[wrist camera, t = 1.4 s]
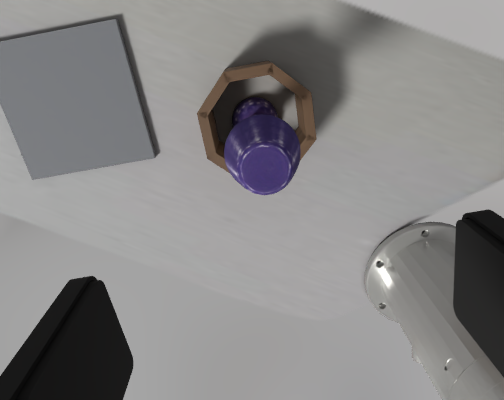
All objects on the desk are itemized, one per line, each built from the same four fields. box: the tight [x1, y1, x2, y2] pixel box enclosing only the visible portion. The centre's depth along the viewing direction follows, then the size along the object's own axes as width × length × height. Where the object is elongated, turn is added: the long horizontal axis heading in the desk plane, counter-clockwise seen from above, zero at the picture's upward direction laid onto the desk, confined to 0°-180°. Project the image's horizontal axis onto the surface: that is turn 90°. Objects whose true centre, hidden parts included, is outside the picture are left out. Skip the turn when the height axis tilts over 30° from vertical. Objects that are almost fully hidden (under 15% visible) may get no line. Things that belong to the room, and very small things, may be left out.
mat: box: [0, 19, 156, 180], centre depth 34 cm, size 12×12×1 cm
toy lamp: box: [224, 97, 301, 195], centre depth 27 cm, size 5×5×17 cm
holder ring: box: [197, 61, 316, 173], centre depth 33 cm, size 9×9×4 cm
